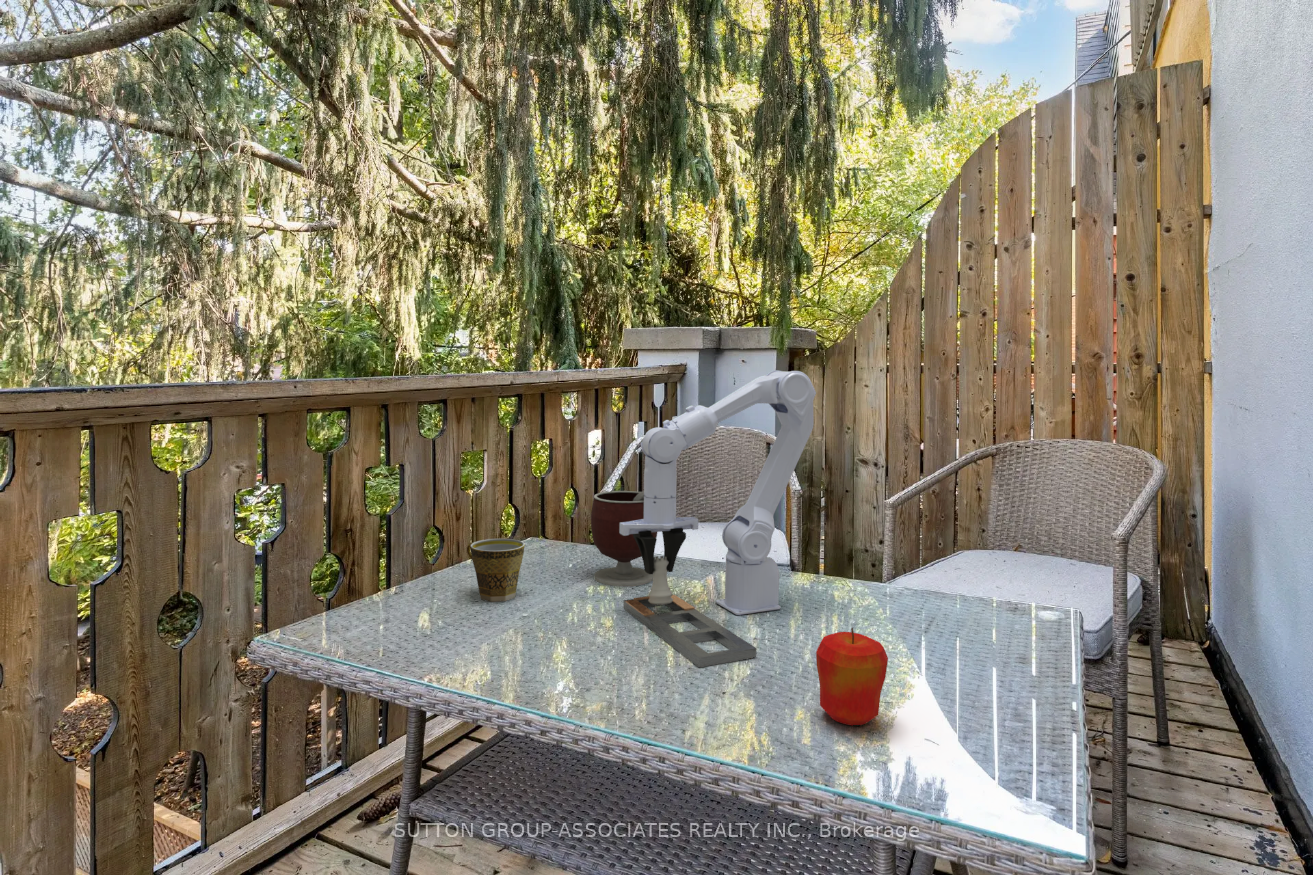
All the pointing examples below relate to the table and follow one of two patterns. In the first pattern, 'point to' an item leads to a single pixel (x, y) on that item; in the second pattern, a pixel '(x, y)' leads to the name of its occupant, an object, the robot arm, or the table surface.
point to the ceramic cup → (497, 567)
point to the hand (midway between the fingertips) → (658, 571)
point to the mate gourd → (618, 536)
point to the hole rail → (687, 639)
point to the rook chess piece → (660, 583)
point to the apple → (851, 676)
